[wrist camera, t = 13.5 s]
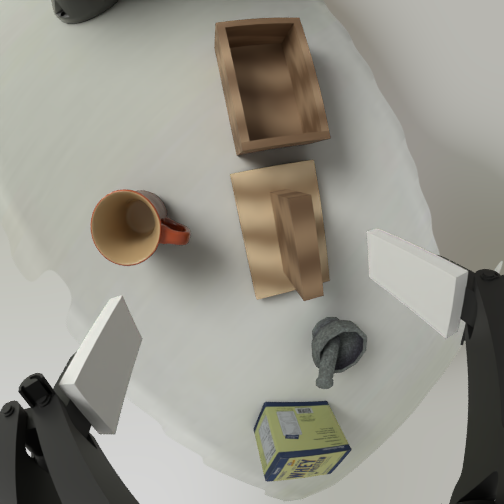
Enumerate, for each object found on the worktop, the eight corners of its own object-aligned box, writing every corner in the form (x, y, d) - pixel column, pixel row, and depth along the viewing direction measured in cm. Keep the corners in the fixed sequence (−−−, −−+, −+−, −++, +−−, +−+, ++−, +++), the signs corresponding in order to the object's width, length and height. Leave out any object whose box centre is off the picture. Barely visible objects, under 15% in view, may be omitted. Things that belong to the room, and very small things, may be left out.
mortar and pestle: (342, 299, 47) (376, 333, 35) (355, 334, 50) (386, 370, 38) (287, 330, 47) (308, 373, 35) (306, 362, 50) (327, 405, 38)
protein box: (312, 426, 57) (332, 473, 42) (252, 429, 54) (263, 482, 39) (328, 399, 54) (353, 449, 40) (263, 401, 51) (278, 459, 37)
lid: (229, 174, 38) (237, 174, 27) (308, 160, 39) (345, 157, 27) (254, 293, 44) (269, 335, 32) (324, 275, 45) (358, 309, 33)
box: (214, 47, 32) (215, 22, 24) (284, 40, 33) (299, 17, 25) (236, 155, 37) (242, 151, 30) (308, 143, 38) (330, 138, 31)
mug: (113, 236, 38) (87, 256, 28) (123, 180, 36) (96, 183, 26) (188, 254, 40) (181, 279, 31) (201, 196, 38) (197, 204, 29)
